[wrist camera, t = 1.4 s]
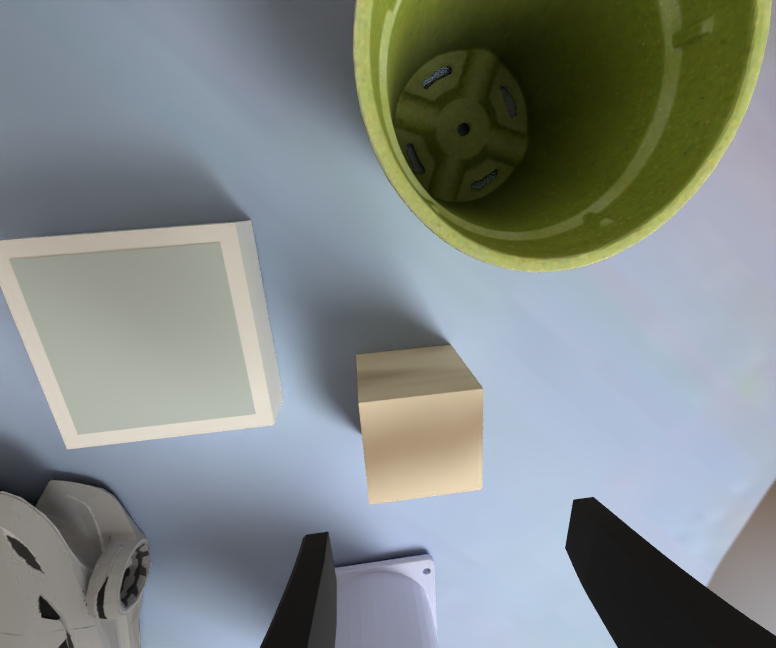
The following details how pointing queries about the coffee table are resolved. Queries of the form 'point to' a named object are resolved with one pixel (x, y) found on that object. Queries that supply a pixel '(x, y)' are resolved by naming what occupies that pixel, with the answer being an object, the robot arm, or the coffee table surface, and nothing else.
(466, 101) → the plant pot
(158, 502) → the coffee table surface
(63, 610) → the car model
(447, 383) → the maple cube
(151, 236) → the cream square tray
